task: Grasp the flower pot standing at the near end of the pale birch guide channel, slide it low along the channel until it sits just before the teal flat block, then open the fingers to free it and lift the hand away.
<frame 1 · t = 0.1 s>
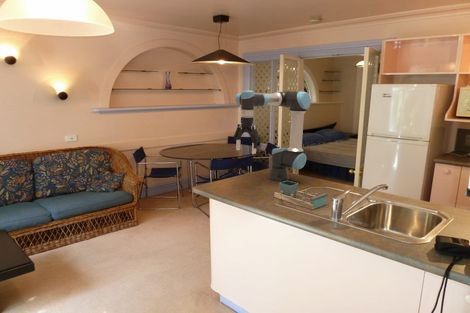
hand: (245, 151, 204), 28 cm above the worktop, fingers open, 13 cm apart
teal flat block: (318, 206, 194), on the worktop
guide rails: (299, 200, 203), on the worktop
flower pot: (288, 197, 210), on the worktop
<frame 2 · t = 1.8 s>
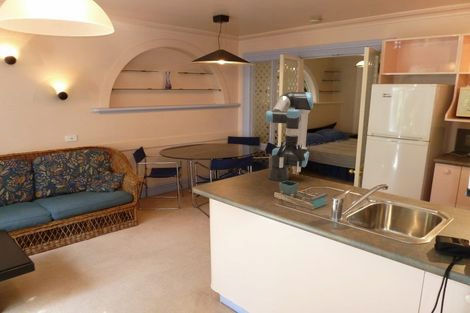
hand: (289, 169, 206), 18 cm above the worktop, fingers open, 13 cm apart
nothing on the worktop moved.
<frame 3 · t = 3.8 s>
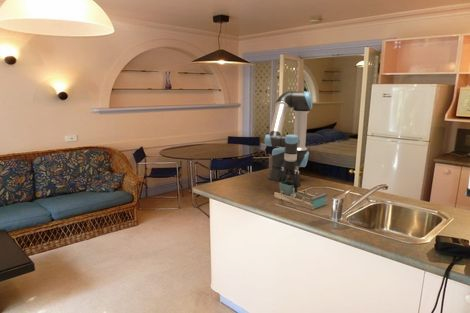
hand: (288, 195, 209), 1 cm above the worktop, fingers closed on flower pot, 9 cm apart
flower pot: (288, 197, 210), on the worktop, touching gripper
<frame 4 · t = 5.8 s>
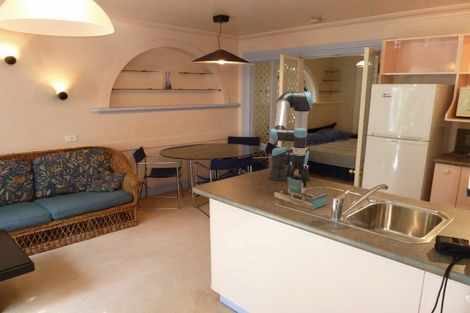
hand: (296, 190, 204), 6 cm above the worktop, fingers closed on flower pot, 9 cm apart
flower pot: (296, 192, 204), point 4 cm above the worktop, touching gripper
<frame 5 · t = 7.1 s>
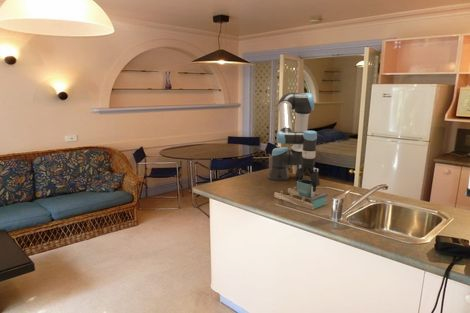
hand: (305, 194, 199), 5 cm above the worktop, fingers closed on flower pot, 9 cm apart
flower pot: (305, 196, 200), point 4 cm above the worktop, touching gripper
when the fingers open (2 cm above the worktop, at t = 8.1 s): flower pot stays where it is, on the worktop.
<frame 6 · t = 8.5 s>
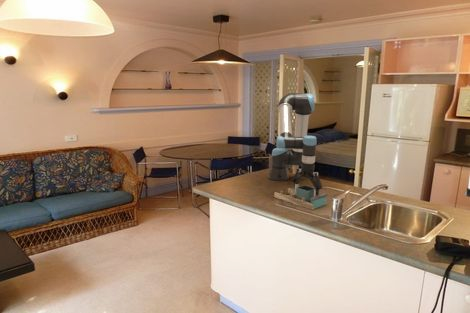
hand: (305, 197, 200), 3 cm above the worktop, fingers open, 13 cm apart
flower pot: (305, 202, 201), on the worktop
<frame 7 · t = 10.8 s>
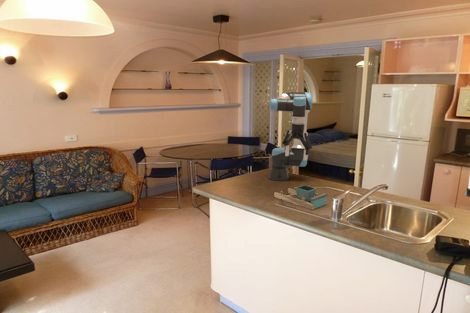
hand: (295, 157, 205), 25 cm above the worktop, fingers open, 13 cm apart
nothing on the worktop moved.
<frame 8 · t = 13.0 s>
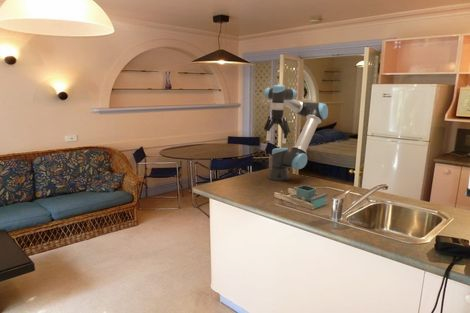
hand: (275, 141, 221), 32 cm above the worktop, fingers open, 13 cm apart
nothing on the worktop moved.
at the end: flower pot inside the target area (0.9 cm from its centre), on the worktop; flower pot tilted 0°; the gripper is holding nothing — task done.
